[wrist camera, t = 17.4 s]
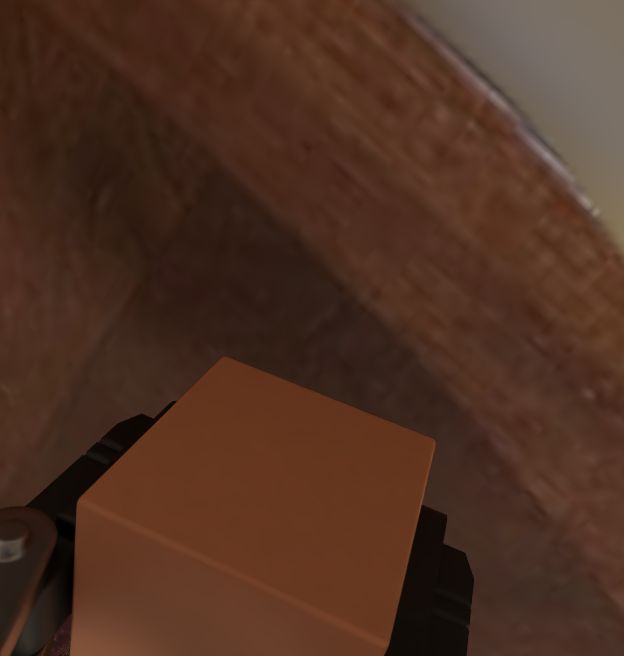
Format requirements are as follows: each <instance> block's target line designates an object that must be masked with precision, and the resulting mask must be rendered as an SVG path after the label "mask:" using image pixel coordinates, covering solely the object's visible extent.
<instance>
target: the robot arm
mask: <svg viewBox="0 0 624 656" xmlns="http://www.w3.org/2000/svg"><path fill="white" fill-rule="evenodd" d="M176 402H177V401H173V402H171V403H170V404H169V405H167V406H166V407H165V408H164V409H163V410H162V411H161V412H160V413H159V414H158V415H157V416H156V417H155V418H154V419H153V418H151V417H148V416H146V415H144V414H140V415H137V416H135V417H132V418H130V419H128V420H125V421H123V422H120V423H118V424H117V425H116V426H115V427H113V428H112V429H111V430H110V431H109V432H108V433H107V434H106V435H105V436H103V437H102V438H101V440H100V442H99V443H98V442H97V443H96V444H95V445H93V446H92V447H91V448H90V449H89V450H88V451H87V452H86V454H85V456H84V455H82V456H81V457H80V458H79V459H78V460H77V461H76V462H75V463H73V464H72V465H71V466H70V467H69V468H68V469H67V470H66V471H64V472H63V473H62V474H61V475H60V476H59V477H58V478H57V479H56V480H54V481H53V482H52V483H51V484H50V485H49V486H48V487H47V488H46V489H44V490H43V491H42V492H41V493H40V494H39V495H38V496H37V497H36V498H34V499H33V500H32V501H31V502H30V503H29V504H27V505H26V506H25V507H23V506H18V507H7V508H3V509H0V656H48V655H49V653H50V651H51V648H52V645H53V643H54V636H55V633H56V632H57V631H58V629H59V628H60V627H61V626H62V625H63V623H64V622H65V621H66V620H67V618H68V617H69V616H70V615H72V596H73V575H74V554H75V533H76V512H77V502H78V500H79V498H80V497H81V496H82V495H83V494H84V493H85V492H86V491H87V490H88V489H89V488H90V487H91V486H92V485H93V484H94V483H95V482H96V481H97V480H98V479H99V478H100V477H101V476H102V475H103V474H104V473H105V472H106V471H107V470H108V469H109V468H110V467H112V466H113V465H114V464H115V463H116V462H117V461H118V460H119V459H120V458H121V457H122V456H123V455H124V454H125V453H126V452H127V451H128V450H129V449H130V448H131V447H132V446H133V445H134V444H135V443H136V442H137V441H138V440H139V439H140V438H141V437H142V436H143V435H144V434H145V433H146V432H147V431H148V430H149V429H150V428H151V427H152V426H153V425H154V424H155V423H156V422H157V421H158V420H159V419H160V418H161V417H162V416H163V415H164V414H165V413H166V412H167V411H168V410H169V409H170V408H171V407H172V406H173V405H174V404H175V403H176ZM446 523H447V515H445V514H443V513H441V512H438V511H436V510H434V509H431V508H429V507H426V506H424V505H421V509H420V514H419V518H418V522H417V526H416V531H415V535H414V539H413V544H412V548H411V552H410V557H409V561H408V565H407V570H406V574H405V578H404V582H403V587H402V591H401V595H400V600H399V604H398V608H397V613H396V617H395V621H394V626H393V630H392V634H391V638H390V643H389V646H388V648H387V650H386V652H385V654H384V656H466V655H467V644H468V634H469V630H468V627H469V624H470V614H471V609H470V607H471V604H472V594H473V584H474V578H473V575H472V572H471V569H470V566H469V563H468V560H467V557H466V554H465V553H464V552H462V551H459V550H457V549H455V548H452V547H450V546H448V545H445V544H443V541H444V535H445V529H446Z"/></svg>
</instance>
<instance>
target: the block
mask: <svg viewBox="0 0 624 656" xmlns="http://www.w3.org/2000/svg"><path fill="white" fill-rule="evenodd" d="M434 449H435V440H434V439H432V438H430V437H427V436H425V435H422V434H420V433H417V432H415V431H412V430H410V429H407V428H405V427H402V426H400V425H397V424H395V423H392V422H390V421H387V420H385V419H382V418H380V417H377V416H374V415H372V414H369V413H367V412H364V411H362V410H359V409H357V408H354V407H352V406H349V405H347V404H344V403H342V402H339V401H337V400H334V399H332V398H329V397H327V396H324V395H322V394H319V393H317V392H314V391H311V390H309V389H306V388H304V387H301V386H299V385H296V384H294V383H291V382H289V381H286V380H284V379H281V378H279V377H276V376H274V375H271V374H269V373H266V372H264V371H261V370H259V369H256V368H254V367H251V366H249V365H246V364H243V363H241V362H238V361H236V360H233V359H231V358H228V357H222V358H221V359H220V360H219V361H218V362H217V363H216V364H215V365H214V366H213V367H212V368H211V369H210V370H209V371H208V372H207V373H206V374H205V375H204V376H203V377H202V378H201V379H200V380H199V381H198V382H197V383H196V384H195V385H194V386H193V387H192V388H191V389H190V390H189V391H188V392H187V393H186V394H185V395H184V396H183V397H182V398H180V399H179V400H178V401H177V402H176V403H175V404H174V405H173V406H172V407H171V408H170V409H169V410H168V411H167V412H166V413H165V414H164V415H163V416H162V417H161V418H160V419H159V420H158V421H157V422H156V423H155V424H154V425H153V426H152V427H151V428H150V429H149V430H148V431H147V432H146V433H145V434H144V435H143V436H142V437H141V438H140V439H139V440H138V441H137V442H136V443H135V444H134V445H133V446H132V447H131V448H130V449H129V450H128V451H127V452H126V453H125V454H124V455H123V456H122V457H121V458H120V459H119V460H118V461H117V462H116V463H115V464H114V465H113V466H112V467H110V468H109V469H108V470H107V471H106V472H105V473H104V474H103V475H102V476H101V477H100V478H99V479H98V480H97V481H96V482H95V483H94V484H93V485H92V486H91V487H90V488H89V489H88V490H87V491H86V492H85V493H84V494H83V495H82V496H81V497H80V498H79V500H78V502H77V512H76V533H75V554H74V575H73V596H72V617H71V639H70V656H384V654H385V652H386V650H387V648H388V646H389V643H390V638H391V634H392V630H393V626H394V621H395V617H396V613H397V608H398V604H399V600H400V595H401V591H402V587H403V582H404V578H405V574H406V570H407V565H408V561H409V557H410V552H411V548H412V544H413V539H414V535H415V531H416V526H417V522H418V518H419V514H420V509H421V505H422V501H423V496H424V492H425V488H426V483H427V479H428V475H429V470H430V466H431V462H432V458H433V453H434Z"/></svg>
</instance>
